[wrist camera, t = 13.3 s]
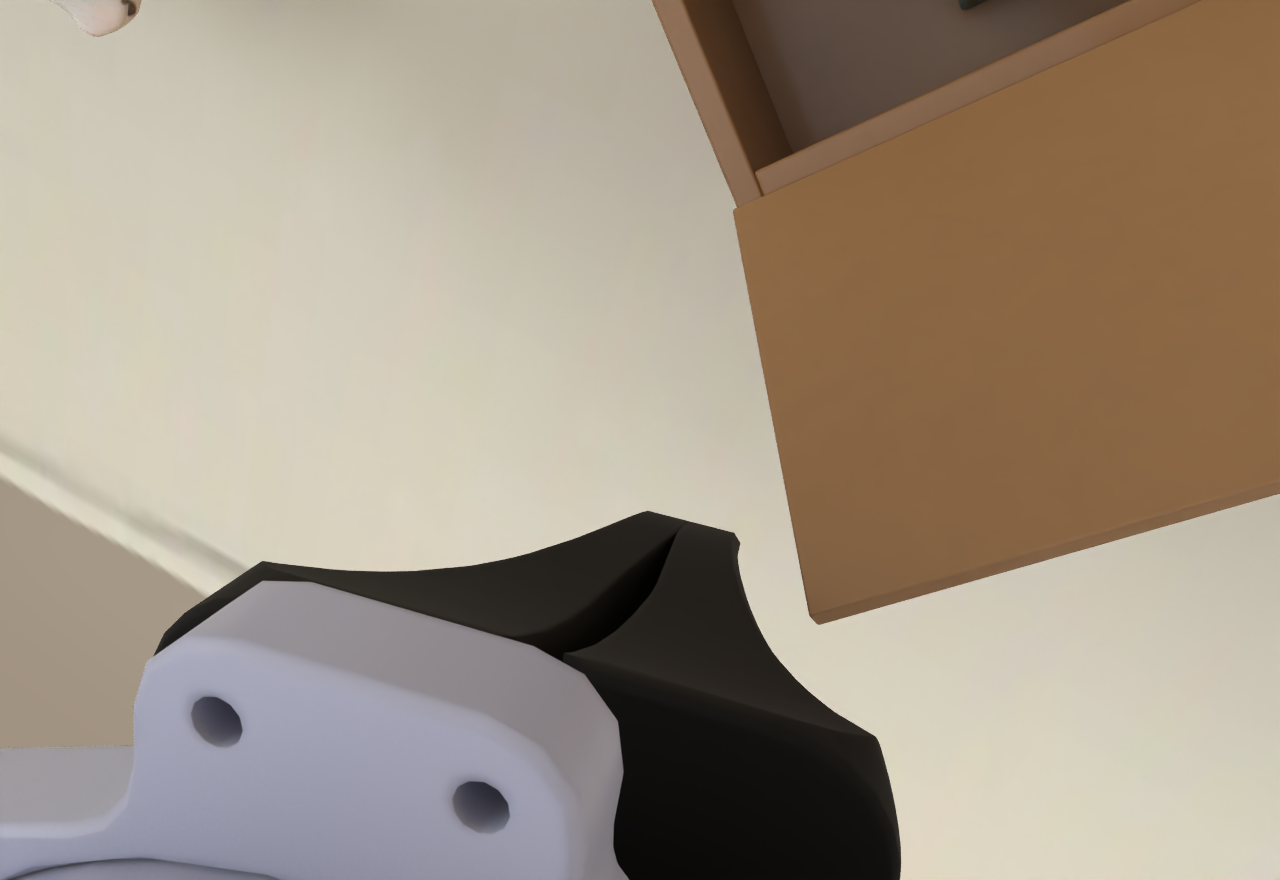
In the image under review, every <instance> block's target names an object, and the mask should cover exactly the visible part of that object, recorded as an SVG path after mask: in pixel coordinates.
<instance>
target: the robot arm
mask: <svg viewBox="0 0 1280 880" xmlns="http://www.w3.org/2000/svg"><path fill="white" fill-rule="evenodd" d="M739 546H740V542H739V540H738V539H737V537H736V535H735V534H734V533H732V532H728V531H725V530H721V529H717V528H713V527H709V526H705V525H701V524H697V523H693V522H689V521H685V520H682V519H678V518H674V517H670V516H666V515H662V514H658V513H654V512H650V511H646V512H642V513H639V514H636V515H633V516H631V517H628V518H626V519H623V520H621V521H618V522H616V523H613V524H611V525H609V526H606V527H603V528H601V529H598V530H596V531H593V532H591V533H588V534H586V535H583V536H581V537H578V538H575V539H573V540H569V541H566V542H563V543H560V544H557V545H554V546H551V547H548V548H545V549H541V550H538V551H535V552H532V553H529V554H525V555H521V556H517V557H513V558H509V559H505V560H500V561H494V562H489V563H484V564H478V565H472V566H465V567H454V568H443V569H432V570H421V571H397V572H374V571H346V570H331V569H323V568H314V567H305V566H296V565H287V564H278V563H272V562H265V561H262V562H260V563H259V564H257V565H256V566H254V567H252V568H251V569H249V570H248V571H246V572H245V573H243V574H242V575H241V576H239V577H238V578H236V579H235V580H233V581H232V582H230V583H229V584H227V585H226V586H224V587H223V588H221V589H220V590H218V591H217V592H215V593H214V594H212V595H211V596H209V597H208V598H206V599H205V600H203V601H202V602H200V603H199V604H197V605H196V606H195V607H193V608H191V609H190V610H188V611H187V612H186V613H184V614H183V615H182V616H181V617H180V618H179V619H178V620H177V621H176V622H175V623H174V624H173V625H172V626H171V627H170V628H169V629H168V630H167V631H166V632H165V633H164V635H163V637H162V639H161V641H160V644H159V646H158V648H157V650H156V652H155V654H154V656H153V657H152V658H151V659H150V660H148V661H147V662H146V666H145V669H144V673H143V676H142V679H141V683H140V686H139V690H138V693H137V696H136V699H135V703H134V745H124V746H70V747H16V748H15V747H14V748H0V880H900V872H901V846H900V837H899V828H898V821H897V815H896V809H895V803H894V799H893V794H892V789H891V785H890V780H889V776H888V772H887V769H886V765H885V761H884V757H883V754H882V751H881V747H880V744H879V742H878V740H877V738H876V737H875V736H874V735H872V734H870V733H868V732H867V731H865V730H863V729H862V728H860V727H858V726H857V725H855V724H853V723H852V722H850V721H848V720H847V719H845V718H843V717H842V716H840V715H838V714H837V713H835V712H834V711H832V710H831V709H830V708H828V707H827V706H826V705H825V704H823V703H822V702H821V701H820V700H818V699H817V698H816V697H815V696H813V695H812V694H811V693H810V692H809V691H808V690H806V689H805V688H804V687H803V686H802V685H801V684H800V683H799V682H798V681H797V680H796V679H795V678H794V677H793V676H792V675H791V674H790V672H789V671H788V670H787V669H786V668H785V667H784V666H783V665H782V663H781V662H780V661H779V660H778V659H777V657H776V656H775V655H774V653H773V652H772V651H771V649H770V647H769V646H768V644H767V643H766V641H765V639H764V637H763V635H762V633H761V631H760V629H759V627H758V625H757V623H756V621H755V618H754V616H753V614H752V611H751V609H750V606H749V603H748V601H747V598H746V594H745V591H744V587H743V584H742V580H741V576H740V572H739V565H738V551H739Z"/></svg>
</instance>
